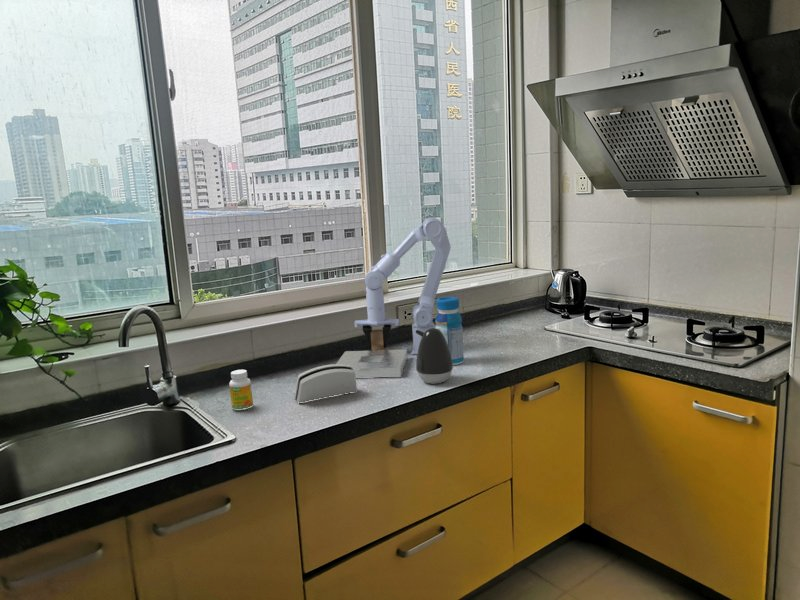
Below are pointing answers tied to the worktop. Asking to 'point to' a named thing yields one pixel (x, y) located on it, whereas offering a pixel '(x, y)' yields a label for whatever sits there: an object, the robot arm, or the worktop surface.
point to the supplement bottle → (240, 390)
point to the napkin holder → (325, 382)
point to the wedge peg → (377, 340)
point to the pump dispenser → (433, 357)
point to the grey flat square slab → (375, 362)
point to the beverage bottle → (451, 326)
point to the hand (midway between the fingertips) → (378, 347)
